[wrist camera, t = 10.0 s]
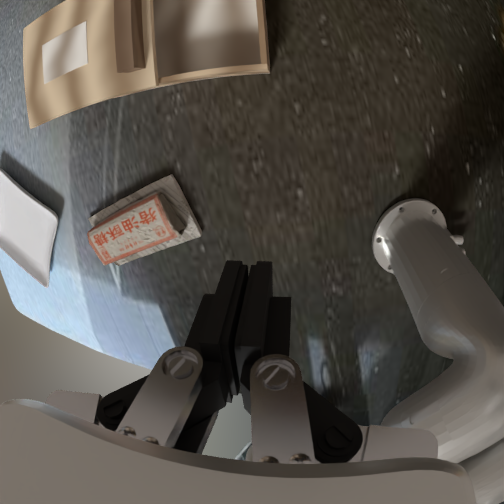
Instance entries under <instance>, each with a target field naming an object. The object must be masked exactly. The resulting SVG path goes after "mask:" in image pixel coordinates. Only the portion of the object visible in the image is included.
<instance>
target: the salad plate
mask: <svg viewBox="0 0 504 504" xmlns="http://www.w3.org/2000/svg"><path fill="white" fill-rule="evenodd" d="M57 226H58V216H57V214H56V213H55V212H54V211H53V210H51V209H50V208H49V207H47V206H46V205H44V204H43V203H41V202H40V201H39V200H37V199H36V198H35V197H33V196H32V195H31V194H30V193H28V192H27V191H26V190H25V189H24V188H22V187H21V186H20V185H19V184H18V183H17V182H16V181H14V180H13V179H12V178H11V177H10V176H9V175H8V174H7V173H6V172H5V171H4V170H3V169H1V168H0V248H1V249H2V250H3V251H4V252H5V253H7V254H8V255H9V256H10V257H11V258H12V259H13V260H14V261H15V262H16V263H17V264H18V265H19V266H20V267H22V268H23V269H24V270H25V271H26V272H27V273H28V274H30V275H31V276H32V277H33V278H34V279H36V280H37V281H38V282H39V283H40V284H42V285H43V286H44V287H46V288H48V286H49V276H50V261H51V253H52V247H53V243H54V239H55V235H56V231H57Z"/></svg>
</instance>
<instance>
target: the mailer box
mask: <svg viewBox="0 0 504 504" xmlns="http://www.w3.org/2000/svg"><path fill="white" fill-rule="evenodd" d="M153 11H154V31H155V46H156V59H157V70H158V80H159V86H156V87H152V88H148V89H143V90H139V91H135V92H132V93H128V94H124V95H121V96H117V97H122V96H125V95H129V94H133V93H137V92H141V91H145V90H149V89H154V88H158V87H163V86H168V85H173V84H178V83H184V82H190V81H196V80H202V79H210V78H218V77H226V76H236V75H249V74H266V73H270V60H269V46H268V33H267V21H266V10H265V0H153ZM114 98H116V97H114Z"/></svg>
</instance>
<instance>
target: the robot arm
mask: <svg viewBox="0 0 504 504" xmlns="http://www.w3.org/2000/svg"><path fill="white" fill-rule="evenodd" d="M399 208H400V209H399ZM462 243H463V236H461V235H452V234H451V233H450V232H449V231H448V230H447V225H446V220H445V218H444V216H443V214H442V212H441V211H440V210H439V208H438V207H436V206H435V205H434V204H433V203H431V202H430V201H428V200H425V199H421V198H411V199H406V200H403V201H400V202H398V203H396V204H395V205H393V206H392V207H390V208H389V209H388V210H387V211H386V212H385V213H384V214H383V215H382V216H381V218H380V219H379V221H378V222H377V224H376V227H375V229H374V232H373V237H372V248H373V253H374V255H375V258H376V260H377V261H378V263H379V265H380V266H381V267H382V268H383V269H385V270H386V271H388V272H390V273H393V274H395V276H396V278H397V280H398V283H399V285H400V287H401V289H402V292H403V294H404V296H405V299H406V301H407V303H408V306H409V308H410V310H411V313H412V315H413V318H414V320H415V323H416V325H417V328H418V331H419V333H420V336H421V338H422V340H423V342H424V343H425V345H426V346H427V347H428V348H429V349H430V350H431V351H433V352H435V353H436V354H439V355H441V356H444V357H447V358H451V359H454V361H453V363H452V365H451V366H450V367H449V368H448V369H446V370H445V371H444V372H443V373H441V374H440V376H438V377H437V378H436V379H434V380H433V381H431V382H430V383H429V384H427V385H426V386H424V387H423V388H421V389H420V390H418V391H417V392H415V393H414V394H412V395H411V396H409V397H408V398H406V399H405V400H403V401H402V402H400V403H399V404H398V405H396V406H395V407H394V408H393V409H391V410H390V411H389V412H388V414H387V415H386V416H385V418H384V419H383V421H382V423H381V426H376V425H370V426H369V427H365V426H358V425H357V424H356V423H355V422H354V421H353V420H351V419H350V418H349V417H347V416H346V415H345V414H343V413H342V412H341V411H340V410H338V409H337V408H336V407H335V406H333V405H332V404H331V403H330V402H328V401H327V400H326V399H325V398H323V397H322V396H321V395H320V394H318V393H317V392H316V391H315V390H314V389H312V388H311V387H310V386H309V385H307V384H306V383H305V382H304V381H303V380H302V374H301V370H300V367H299V365H298V364H297V363H296V362H295V360H293V359H292V358H290V357H289V345H290V317H291V297H273V292H272V262H267V261H257V264H256V265H251V268H250V273H249V277H248V266H247V265H243V264H242V261H228V260H227V261H226V264H225V267H224V269H223V272H222V275H221V278H220V281H219V284H218V287H217V290H216V292H215V294H205V295H204V296H203V298H202V301H201V303H200V306H199V309H198V311H197V314H196V317H195V319H194V322H193V324H192V327H191V330H190V332H189V335H188V338H187V340H186V343H185V346H181V347H175V348H172V349H169V350H168V351H166V352H165V353H163V355H162V356H161V357H160V358H159V360H158V361H157V363H156V365H155V366H154V368H153V370H152V371H151V373H150V374H149V375H147V376H145V377H144V378H141V379H139V380H137V381H135V382H133V383H131V384H129V385H127V386H125V387H123V388H120V389H118V390H116V391H114V392H112V393H110V394H108V395H106V396H105V397H102V396H101V395H100V394H91V393H80V392H72V391H63V390H57V391H54V392H52V393H51V394H50V395H49V396H48V397H47V400H46V402H45V403H42V402H39V401H35V400H28V399H14V400H9V401H6V402H4V403H2V404H1V405H0V504H498V503H501V502H503V501H504V307H503V306H502V304H501V303H500V301H499V300H498V299H497V297H496V296H495V294H494V293H493V292H492V290H491V289H490V287H489V286H488V285H487V283H486V282H485V280H484V279H483V278H482V276H481V275H480V274H479V272H478V271H477V269H476V268H475V267H474V266H473V264H472V263H471V262H470V260H469V259H468V258H467V256H466V255H465V250H464V249H463V248H459V247H458V245H457V244H462ZM240 386H241V392H242V397H243V403H244V408H245V409H246V410H247V411H248V412H249V413H250V415H251V427H252V460H253V462H252V461H243V460H234V459H226V458H219V457H213V456H207V455H201V454H202V452H203V449H204V447H205V445H206V443H207V439H208V438H209V435H210V433H211V431H212V428H213V426H214V423H215V421H216V419H217V416H218V411H219V410H220V409H222V408H223V407H225V406H226V402H230V403H232V398H233V395H238V394H239V389H240Z"/></svg>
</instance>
